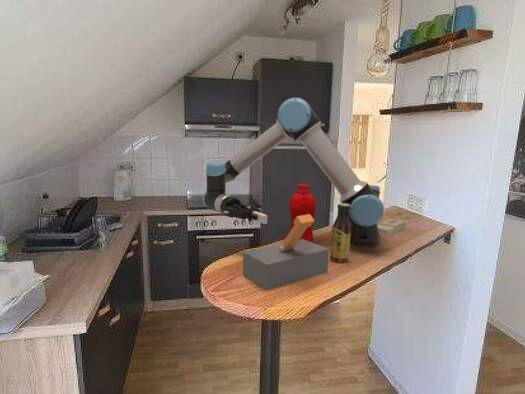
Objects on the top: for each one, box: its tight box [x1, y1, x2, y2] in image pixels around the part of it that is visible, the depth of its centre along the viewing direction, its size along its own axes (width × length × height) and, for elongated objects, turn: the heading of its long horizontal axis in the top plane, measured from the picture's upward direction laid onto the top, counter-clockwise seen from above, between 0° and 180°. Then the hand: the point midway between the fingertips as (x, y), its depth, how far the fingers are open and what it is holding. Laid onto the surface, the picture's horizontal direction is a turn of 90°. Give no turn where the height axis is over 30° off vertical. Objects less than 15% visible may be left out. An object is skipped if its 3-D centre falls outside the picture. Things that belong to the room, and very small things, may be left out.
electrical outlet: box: [377, 218, 406, 237], centre depth 158 cm, size 7×4×18 cm
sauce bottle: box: [329, 202, 351, 263], centre depth 119 cm, size 6×6×20 cm
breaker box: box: [242, 239, 330, 291], centre depth 107 cm, size 24×12×8 cm, turn 126°
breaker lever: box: [279, 214, 315, 252], centre depth 103 cm, size 5×3×14 cm
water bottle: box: [288, 183, 317, 244], centre depth 126 cm, size 9×11×25 cm
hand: (265, 219), depth 114 cm, fingers closed
